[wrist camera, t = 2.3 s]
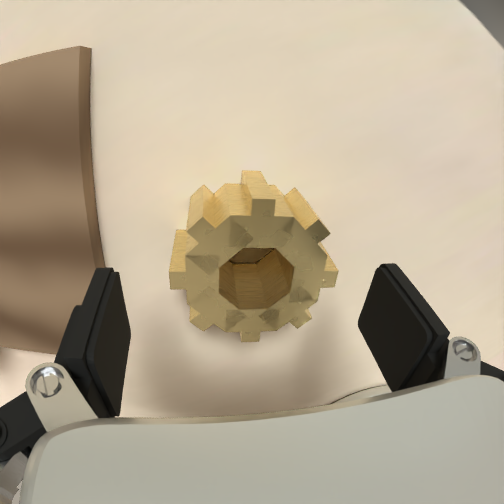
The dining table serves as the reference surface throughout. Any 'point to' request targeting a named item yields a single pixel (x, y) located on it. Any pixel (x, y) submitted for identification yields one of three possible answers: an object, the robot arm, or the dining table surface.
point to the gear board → (45, 197)
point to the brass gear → (250, 275)
